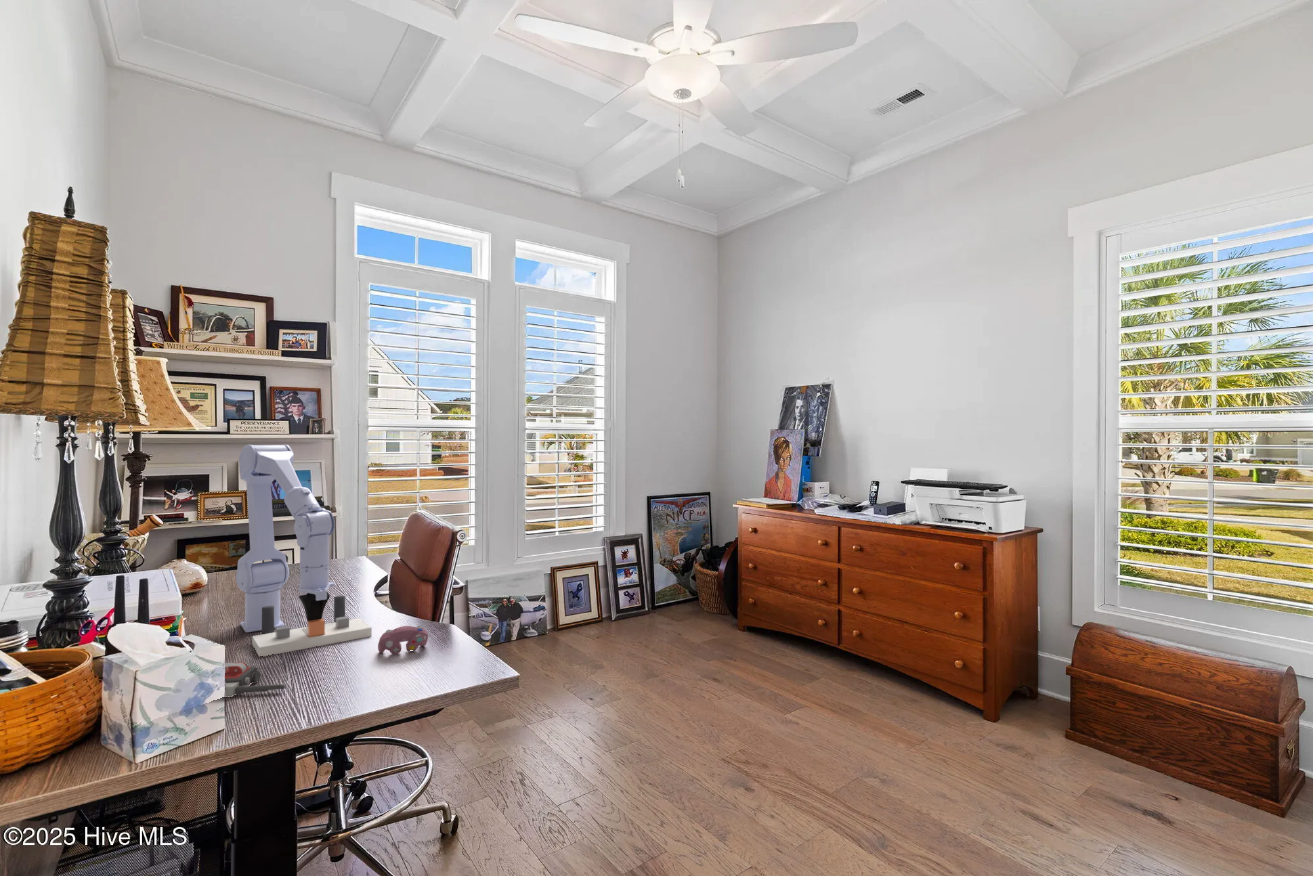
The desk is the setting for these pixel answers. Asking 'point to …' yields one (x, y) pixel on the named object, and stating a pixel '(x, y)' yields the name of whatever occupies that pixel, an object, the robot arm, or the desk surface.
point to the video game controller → (402, 639)
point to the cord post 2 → (339, 607)
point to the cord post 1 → (267, 619)
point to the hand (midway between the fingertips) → (314, 626)
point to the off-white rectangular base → (300, 640)
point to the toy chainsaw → (244, 679)
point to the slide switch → (316, 627)
